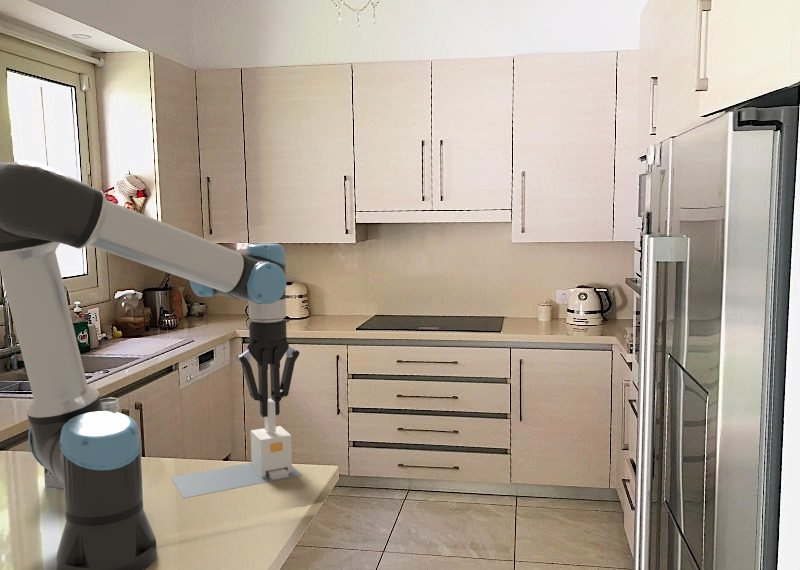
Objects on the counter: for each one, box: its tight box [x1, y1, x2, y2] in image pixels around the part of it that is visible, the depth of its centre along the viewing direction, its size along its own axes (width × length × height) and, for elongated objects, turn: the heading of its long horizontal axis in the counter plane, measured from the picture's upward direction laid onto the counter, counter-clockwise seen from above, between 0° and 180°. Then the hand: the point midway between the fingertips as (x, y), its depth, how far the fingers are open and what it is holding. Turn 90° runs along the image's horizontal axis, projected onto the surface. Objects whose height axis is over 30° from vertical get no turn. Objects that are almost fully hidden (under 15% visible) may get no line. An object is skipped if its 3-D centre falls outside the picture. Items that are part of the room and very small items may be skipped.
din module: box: [250, 425, 293, 478], centre depth 156 cm, size 7×6×8 cm
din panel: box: [170, 462, 303, 499], centre depth 153 cm, size 12×24×2 cm, turn 118°
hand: (270, 430), depth 156 cm, fingers closed
